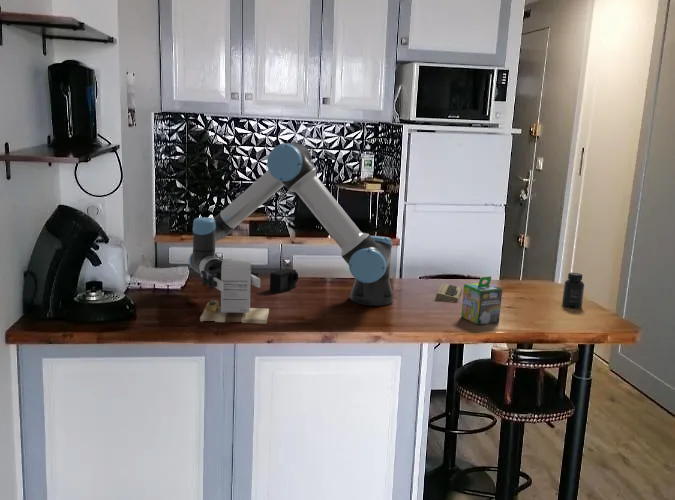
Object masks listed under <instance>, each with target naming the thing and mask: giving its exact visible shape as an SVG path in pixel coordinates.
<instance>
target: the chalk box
mask: <svg viewBox="0 0 675 500" xmlns="http://www.w3.org/2000/svg"><path fill="white" fill-rule="evenodd" d="M491 280H492V276H481V277H480V278H479V281H478V282H472V283H471V282H470V283H465V284H463V290H462V291H463V293H462V306H461V318H462V317H463V318H462V319H465V320H467V321H469V322H471V323H474V324H476V325H477V326H479V325H480V326H481V325H487V324H496V323H500V315H501V307H502V296H503V288H502V287H499V286H496V285H494V284H491ZM485 281H486V282H485Z"/></svg>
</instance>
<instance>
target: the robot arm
mask: <svg viewBox="0 0 675 500" xmlns="http://www.w3.org/2000/svg"><path fill="white" fill-rule="evenodd" d="M266 165H267V169H268V170H267V171H265V173H264V174H262V176H260V177H259V178H258V179H256V181H254V182H253V183H252V184H251V185H250V186H248V188H247V189H245V190H244V191H243V192H242V193H241V194H240V195H238V196H237V197H236V198H235V199H233V201H231V202H230V203H229V204H228V205H227V206H226V207H225V208H224V209H223V210H221V212H219V213H218V214H217V215H216V216H214V217H205V216H203V217H201V216H200V217H196V218H194V220H193V223H192V253H191V254H190V255H189V258H188V264H189V266H190V267H191V269H193V271H194V272H195V273H197V274H200V279H201V281H202V282H201V283H202V286H203V287H206V286H207V285H208V289H213V288H215V289H216V290H218V291H219V292H221V291H224V282H222V281H221V266H222V262H223V260H222V259H220V258H218V257H216V242H218V241H220V240H223V239H225V238H226V237H228V236H229V235H230V234H231V232H232V231H233V230H234V229H235V228H236V227H238V226H239V224H241V223H242V222H244V221H245V220H246V219H247V218H248V217H249V216H250V215H251V214H253V213H254V212H255V211H256V210H258V209H259V207H261V206H262V205H263V204H264V203H266V202H267V201H268V200H269V199H270V198H271V197H273V196H274V195H275V194H276V193H277V192H278V191H280V190H281V188H283V187H285V188H286V189H287V191H289V192H292V193H293V192H295V193H296V194H297V195H298V196H299V198H300V199H301V200H302V202H303V203H304V204H305V205H306V207H307V208H308V209H309V210H310V212H311V214H312V215H314V217H315V218H316V220H318V222H319V223H320V224H321V225H322V226H323V228H324V229H325V230H326V231H327V233H328V234H329V235H330V237H332V239H333V240H334V241H335V242H336V244H337V245H338V246H339V248H340V250H341V253H340V256H341V258H342V259H343V260H344V261H345V263H346V264H347V265H348V269H349V272H350V274H351V276H352V277H353V278H354V279H355V281H354V282H353V286H352V288H351V291H350V295H349V298H350V299H349V300H350V301H351V302H353V303H355V304H359V305H365V306H373V307H374V306H375V307H376V306H378V307H379V306H387V305H390V304H392V303H393V302H394V294H393V288H392V286H391V280H390V274H391V259H392V248H393V241H392V238H390V237H387V236H381V235H380V236H379V235H370V234H369V233H368V232H367V233H366V232H362V230H360V229H359V227H358V226H357V225H356V223H355V222H354V221H353V220H352V219H351V217H350V216H349V215H348V214H347V212H346V211H345V210H344V208H343V207H342V206H341V205H340V204H339V202H338V200H337V199H335V197H334V196H333V195H332V193H331V192H330V191H329V190H328V188H327V187H326V186H325V185H324V183H323V182H322V181H321V180H320V179H319V177H318V176H317V167H316V166H315V165H314V163H313V162H312V155H311V152H310V151H309V149H308V147H306V146H305V145H303V144H301V143H298V142H289V143H288V142H284V143H280V144H278V145H277V146H276V145H275V147H274V148H273V149H272V150H271V151H270V152H269V154H268V155H267V162H266ZM251 285H252V286H254V287H256V288H259V289H260V288H261V278H260V277H259V272H256V271H252V270H251Z"/></svg>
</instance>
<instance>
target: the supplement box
mask: <svg viewBox="0 0 675 500" xmlns="http://www.w3.org/2000/svg"><path fill="white" fill-rule="evenodd" d="M222 261H223V262H222V266H221V281H222V282H224V291H220V307H221V312H236V313H249V312H250V308H251V285H252V284H251V271H252V267H251V264H252V260H251V259H238V258H237V259H233V258H223V259H222Z"/></svg>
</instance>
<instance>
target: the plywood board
mask: <svg viewBox="0 0 675 500" xmlns="http://www.w3.org/2000/svg"><path fill="white" fill-rule="evenodd" d="M219 305H220V303H219V300H215V299H213V300H212V299H210V300H208V302H207V304H206V305H205V308H204V310H203V311H202V314H201V315H200V317H199V321H200V322H203V321H215V322H214V323H231V322H242V323H241V324H260V325H261V324H263V325H264V324H265V325H267V321H268V318H269V317H268V316H269V314H270V313H269V312H270V308H263V307H262V308H259V307H256V308H255V307H250V312H249V313H236V312H221V306H219Z"/></svg>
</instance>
